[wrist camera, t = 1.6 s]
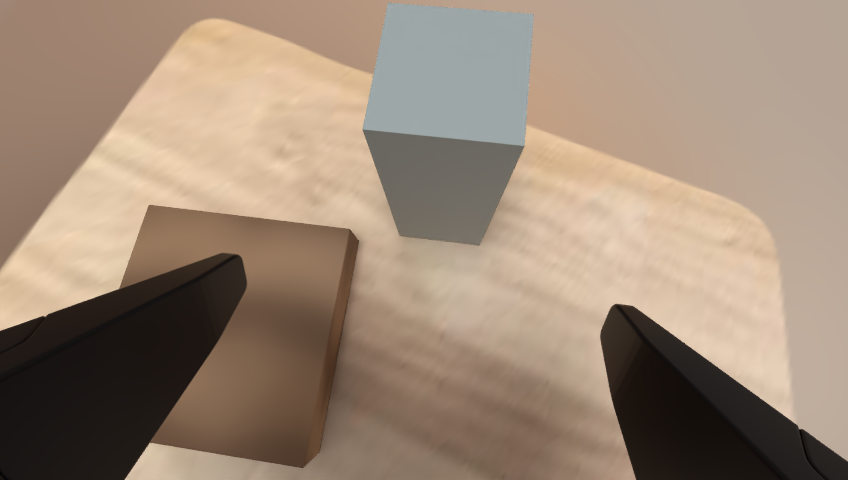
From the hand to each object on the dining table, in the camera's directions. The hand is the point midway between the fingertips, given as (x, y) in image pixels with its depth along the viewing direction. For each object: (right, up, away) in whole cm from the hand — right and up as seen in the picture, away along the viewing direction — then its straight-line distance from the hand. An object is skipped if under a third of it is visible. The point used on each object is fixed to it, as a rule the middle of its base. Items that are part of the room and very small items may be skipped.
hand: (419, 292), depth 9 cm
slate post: (+1, +4, +15) cm, 15 cm away
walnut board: (-11, -4, +13) cm, 17 cm away
